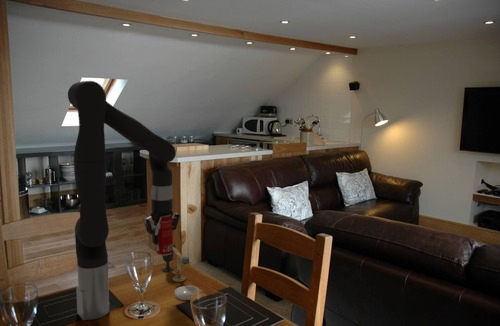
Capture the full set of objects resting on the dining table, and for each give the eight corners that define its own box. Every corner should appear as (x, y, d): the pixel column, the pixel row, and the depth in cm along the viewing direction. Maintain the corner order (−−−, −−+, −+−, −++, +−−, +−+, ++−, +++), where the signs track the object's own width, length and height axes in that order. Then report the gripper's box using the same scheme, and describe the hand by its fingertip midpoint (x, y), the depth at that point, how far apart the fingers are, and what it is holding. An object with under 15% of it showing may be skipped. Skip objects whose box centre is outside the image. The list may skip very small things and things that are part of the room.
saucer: (182, 302, 139) (182, 299, 139) (170, 293, 146) (170, 290, 145) (204, 295, 145) (204, 292, 144) (191, 286, 151) (191, 283, 151)
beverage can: (174, 250, 148) (175, 212, 146) (169, 257, 142) (169, 216, 140) (159, 249, 149) (159, 211, 147) (153, 255, 142) (153, 215, 140)
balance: (182, 287, 150) (182, 257, 149) (165, 275, 160) (165, 247, 159) (193, 283, 154) (193, 254, 152) (176, 272, 164) (176, 245, 162)
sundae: (170, 265, 171) (170, 232, 168) (178, 270, 165) (178, 236, 163) (156, 269, 166) (156, 234, 164) (164, 274, 161) (164, 239, 159)
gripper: (148, 201, 134) (148, 250, 137) (184, 196, 144) (184, 242, 146) (138, 197, 140) (139, 243, 142) (174, 193, 149) (173, 236, 152)
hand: (161, 242), depth 144 cm, fingers closed on beverage can, 4 cm apart
